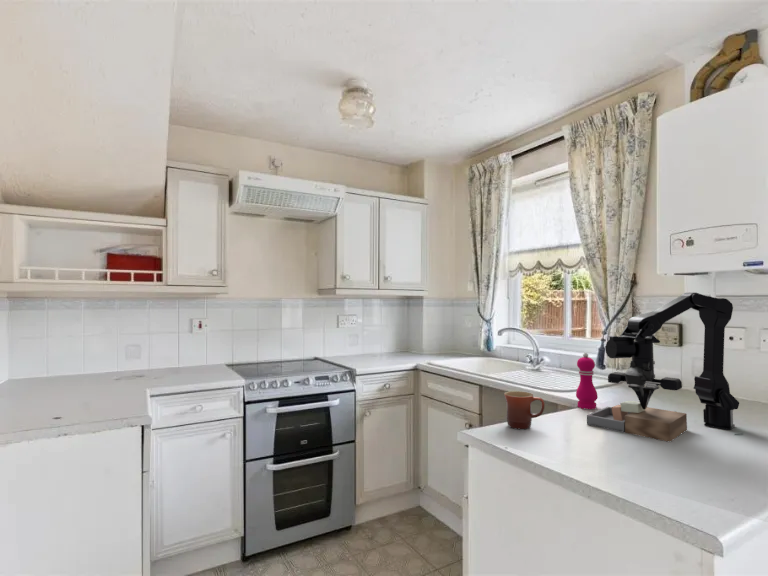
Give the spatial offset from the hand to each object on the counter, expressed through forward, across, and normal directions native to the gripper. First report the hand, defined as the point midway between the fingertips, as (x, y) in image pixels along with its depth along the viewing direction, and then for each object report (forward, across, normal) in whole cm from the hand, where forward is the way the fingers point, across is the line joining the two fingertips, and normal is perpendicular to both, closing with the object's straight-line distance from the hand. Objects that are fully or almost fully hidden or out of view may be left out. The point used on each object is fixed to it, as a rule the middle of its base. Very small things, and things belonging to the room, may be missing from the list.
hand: (644, 409), depth 130 cm
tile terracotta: (+2, -6, 0) cm, 6 cm away
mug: (+6, -26, -25) cm, 36 cm away
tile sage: (+1, -3, 0) cm, 3 cm away
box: (+6, -9, 0) cm, 10 cm away
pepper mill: (+6, -24, +14) cm, 28 cm away
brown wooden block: (+6, +3, 0) cm, 7 cm away
